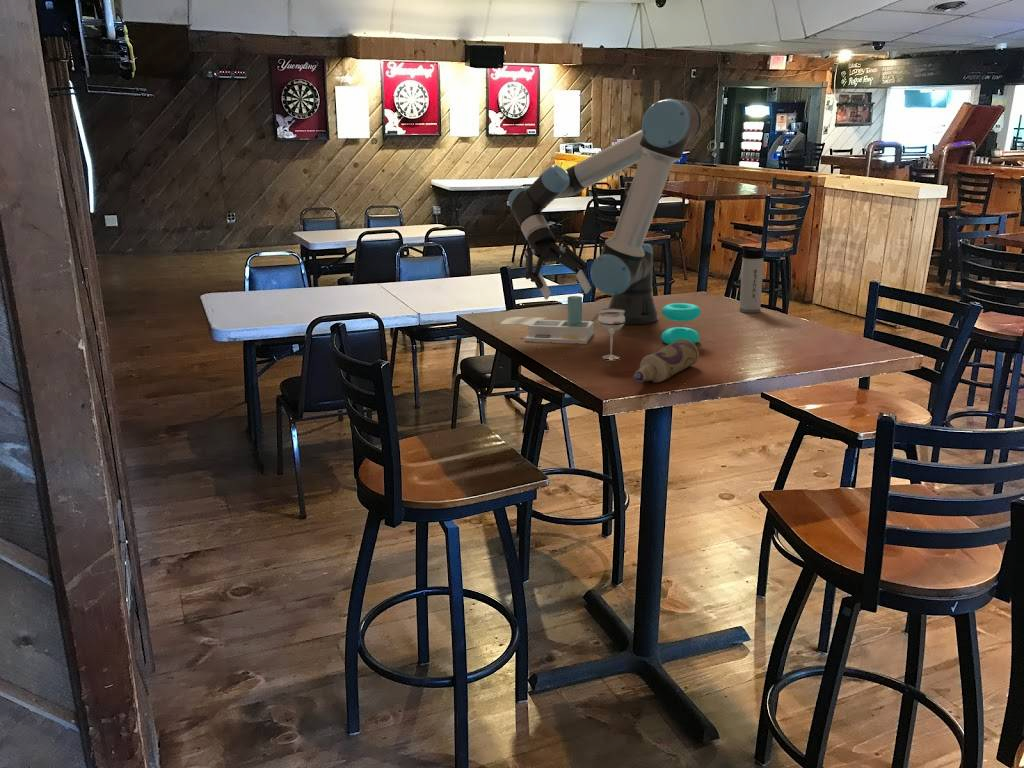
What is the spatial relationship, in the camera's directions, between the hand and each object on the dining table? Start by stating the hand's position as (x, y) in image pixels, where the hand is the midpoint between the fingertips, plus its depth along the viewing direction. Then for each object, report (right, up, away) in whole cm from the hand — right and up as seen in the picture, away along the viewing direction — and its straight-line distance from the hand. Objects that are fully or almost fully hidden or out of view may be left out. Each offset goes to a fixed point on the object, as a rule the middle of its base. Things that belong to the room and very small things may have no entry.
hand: (568, 293), depth 231 cm
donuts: (+29, -14, -8) cm, 34 cm away
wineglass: (+9, -19, -22) cm, 30 cm away
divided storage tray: (-2, -12, 0) cm, 12 cm away
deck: (-12, -7, +17) cm, 22 cm away
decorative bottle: (+19, -24, -38) cm, 48 cm away
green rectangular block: (+2, -11, 0) cm, 11 cm away
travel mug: (+58, -3, +27) cm, 64 cm away
